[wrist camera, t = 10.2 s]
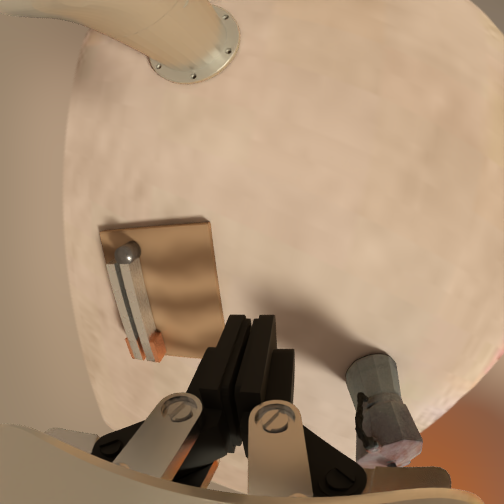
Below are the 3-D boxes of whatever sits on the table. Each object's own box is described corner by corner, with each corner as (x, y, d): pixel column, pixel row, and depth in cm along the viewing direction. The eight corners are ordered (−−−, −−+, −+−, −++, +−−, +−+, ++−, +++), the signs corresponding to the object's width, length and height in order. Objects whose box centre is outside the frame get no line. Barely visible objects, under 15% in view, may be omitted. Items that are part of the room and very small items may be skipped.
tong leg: (123, 241, 39) (112, 247, 37) (140, 240, 39) (129, 247, 36) (151, 349, 46) (144, 360, 43) (166, 351, 45) (159, 362, 42)
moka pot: (370, 404, 45) (384, 494, 26) (317, 364, 43) (319, 471, 24) (412, 375, 41) (442, 466, 23) (364, 329, 40) (392, 437, 21)
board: (103, 230, 41) (99, 232, 40) (210, 222, 38) (207, 224, 37) (135, 346, 48) (132, 350, 47) (229, 355, 45) (228, 360, 44)
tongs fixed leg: (113, 257, 41) (102, 264, 38) (125, 256, 40) (115, 264, 37) (139, 348, 46) (132, 358, 43) (151, 349, 46) (143, 360, 43)
